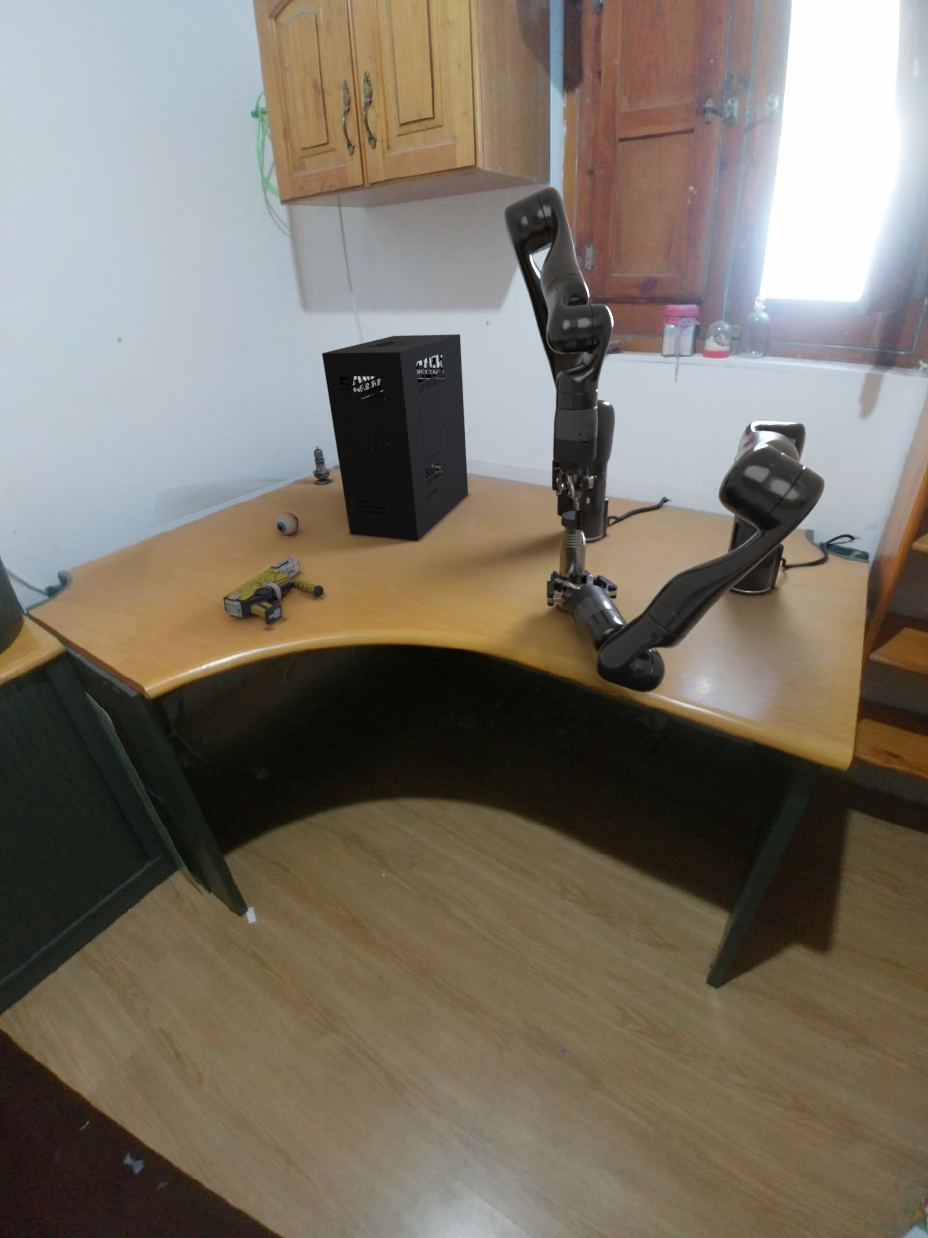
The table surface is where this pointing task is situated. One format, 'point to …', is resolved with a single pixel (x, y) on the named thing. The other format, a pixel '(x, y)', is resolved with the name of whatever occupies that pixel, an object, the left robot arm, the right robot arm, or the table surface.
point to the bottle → (572, 558)
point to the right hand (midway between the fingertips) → (567, 573)
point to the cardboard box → (399, 432)
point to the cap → (568, 519)
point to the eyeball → (287, 523)
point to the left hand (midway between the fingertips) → (571, 521)
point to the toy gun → (267, 592)
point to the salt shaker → (320, 468)
